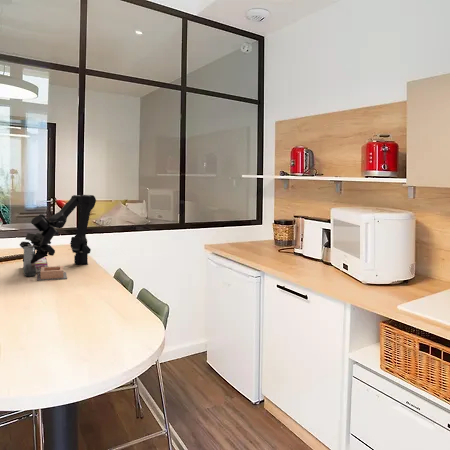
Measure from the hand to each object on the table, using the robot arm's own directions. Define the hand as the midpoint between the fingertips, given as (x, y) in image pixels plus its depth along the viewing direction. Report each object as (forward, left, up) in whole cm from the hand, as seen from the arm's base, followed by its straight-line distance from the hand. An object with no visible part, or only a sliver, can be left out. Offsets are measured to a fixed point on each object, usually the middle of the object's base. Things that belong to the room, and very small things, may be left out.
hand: (27, 262), depth 191 cm
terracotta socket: (-11, +3, -7) cm, 13 cm away
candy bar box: (-2, -22, -4) cm, 23 cm away
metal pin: (-1, -1, -7) cm, 7 cm away
